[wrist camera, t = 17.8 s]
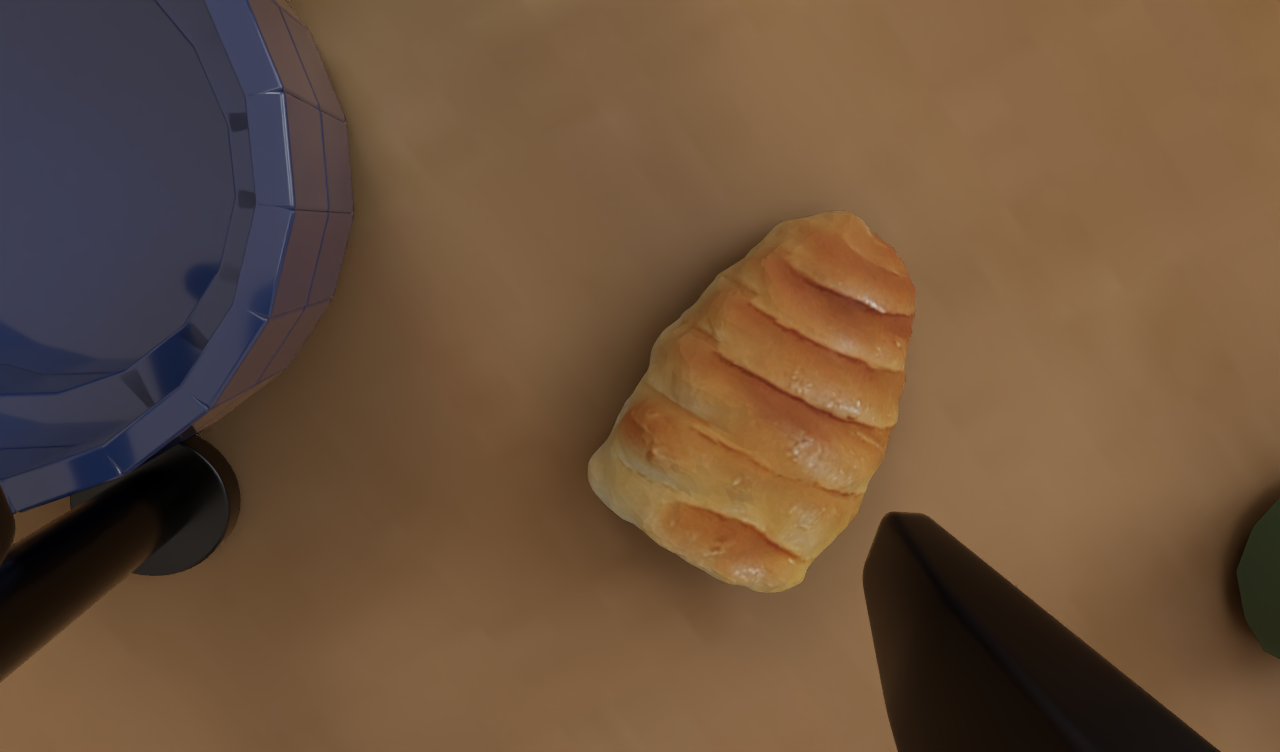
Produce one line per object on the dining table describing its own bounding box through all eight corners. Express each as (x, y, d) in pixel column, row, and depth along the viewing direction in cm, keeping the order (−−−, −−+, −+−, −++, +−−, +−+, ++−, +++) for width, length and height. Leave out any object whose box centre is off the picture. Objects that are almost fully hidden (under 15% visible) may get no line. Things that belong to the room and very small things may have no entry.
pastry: (738, 162, 20) (784, 147, 16) (949, 285, 21) (1038, 298, 17) (569, 482, 21) (575, 538, 17) (781, 580, 22) (830, 652, 18)
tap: (257, 547, 20) (52, 777, 12) (113, 576, 20) (-204, 833, 11) (174, 261, 19) (-131, 290, 10) (16, 288, 18) (-431, 341, 10)
